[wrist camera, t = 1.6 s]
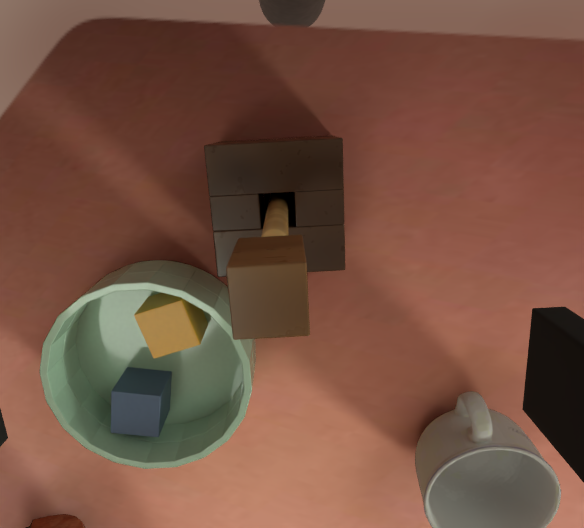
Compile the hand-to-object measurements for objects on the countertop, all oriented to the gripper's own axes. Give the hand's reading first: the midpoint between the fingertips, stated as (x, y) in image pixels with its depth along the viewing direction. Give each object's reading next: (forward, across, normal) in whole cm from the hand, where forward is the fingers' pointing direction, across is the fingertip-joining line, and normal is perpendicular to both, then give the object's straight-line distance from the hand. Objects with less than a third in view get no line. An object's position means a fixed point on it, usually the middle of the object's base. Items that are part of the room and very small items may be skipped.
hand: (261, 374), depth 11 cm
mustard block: (+28, -9, -9) cm, 30 cm away
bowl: (+28, -11, -13) cm, 33 cm away
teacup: (+28, +16, -23) cm, 40 cm away
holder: (+28, 0, 0) cm, 28 cm away
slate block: (+28, -13, -16) cm, 34 cm away
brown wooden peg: (+28, 0, 0) cm, 28 cm away
